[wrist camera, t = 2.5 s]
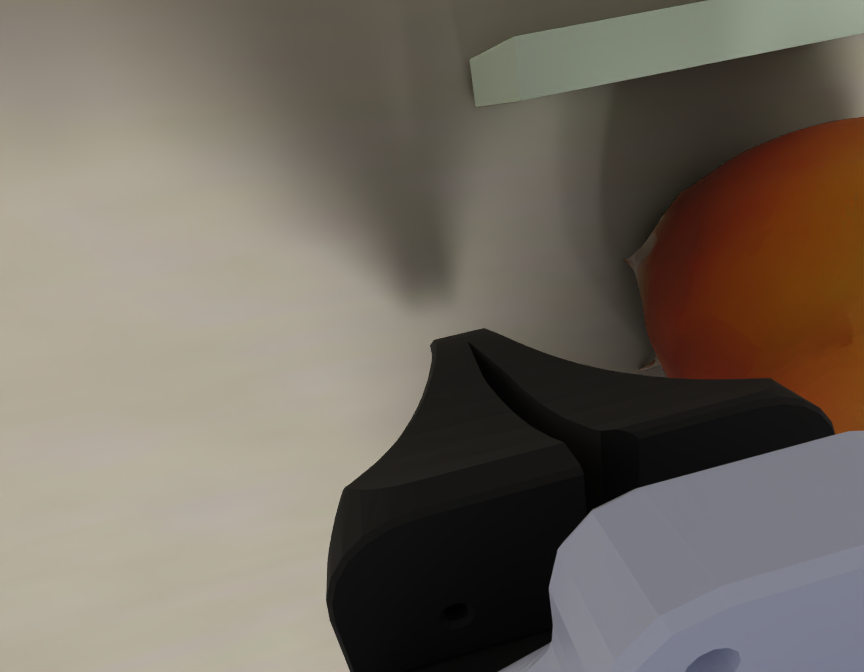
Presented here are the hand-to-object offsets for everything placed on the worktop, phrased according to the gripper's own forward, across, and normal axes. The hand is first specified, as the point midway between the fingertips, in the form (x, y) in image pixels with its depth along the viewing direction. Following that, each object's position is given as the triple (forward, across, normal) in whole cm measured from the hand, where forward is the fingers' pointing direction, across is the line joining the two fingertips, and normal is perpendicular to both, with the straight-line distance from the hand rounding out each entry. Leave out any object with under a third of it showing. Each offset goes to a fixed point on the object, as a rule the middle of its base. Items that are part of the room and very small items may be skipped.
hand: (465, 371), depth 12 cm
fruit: (+3, -9, 0) cm, 9 cm away
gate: (+2, -8, -6) cm, 10 cm away
